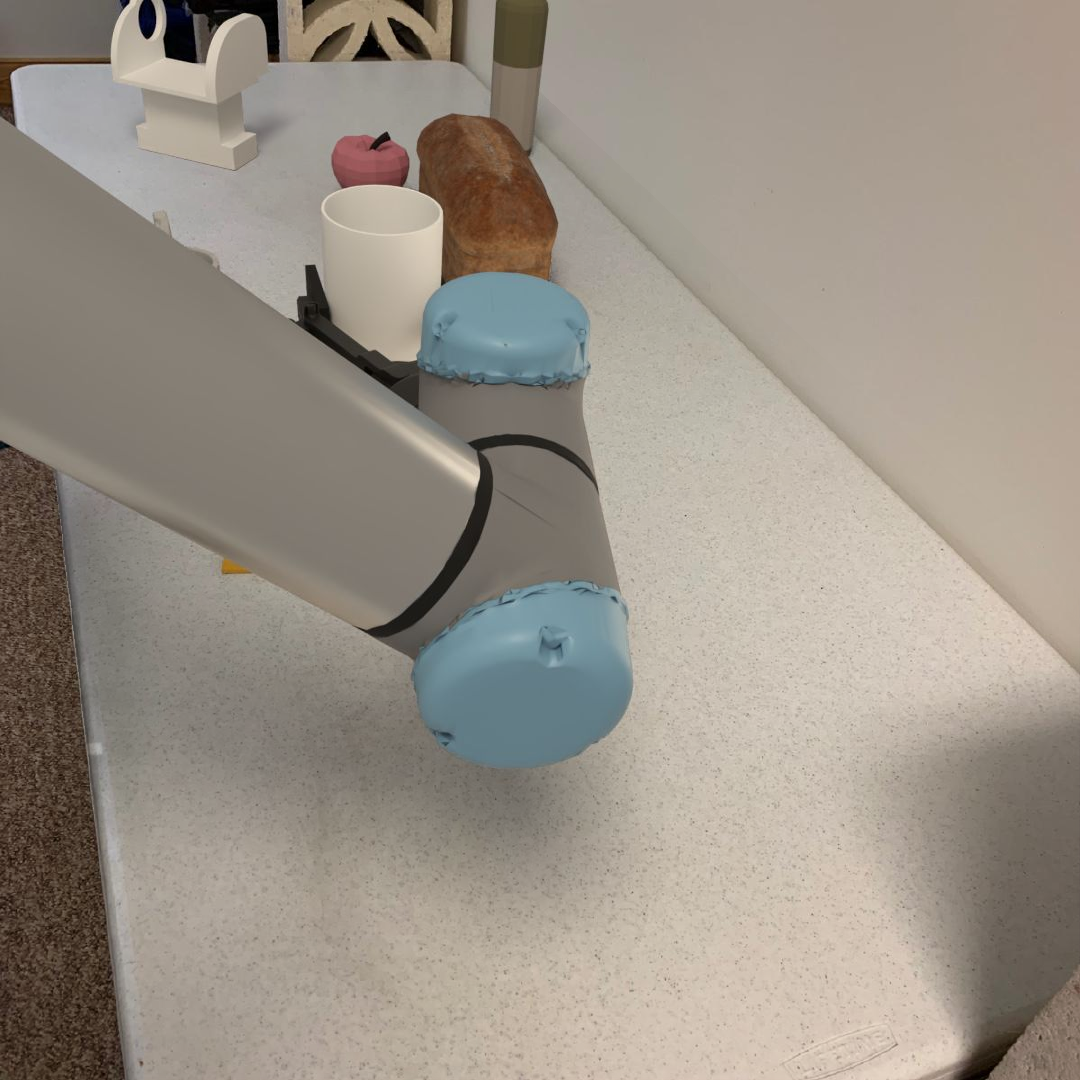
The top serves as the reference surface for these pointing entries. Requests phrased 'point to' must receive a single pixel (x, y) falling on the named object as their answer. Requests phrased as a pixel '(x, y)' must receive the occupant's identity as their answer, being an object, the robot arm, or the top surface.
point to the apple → (369, 161)
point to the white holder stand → (192, 88)
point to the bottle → (518, 65)
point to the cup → (381, 264)
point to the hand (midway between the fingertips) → (370, 278)
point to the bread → (486, 198)
